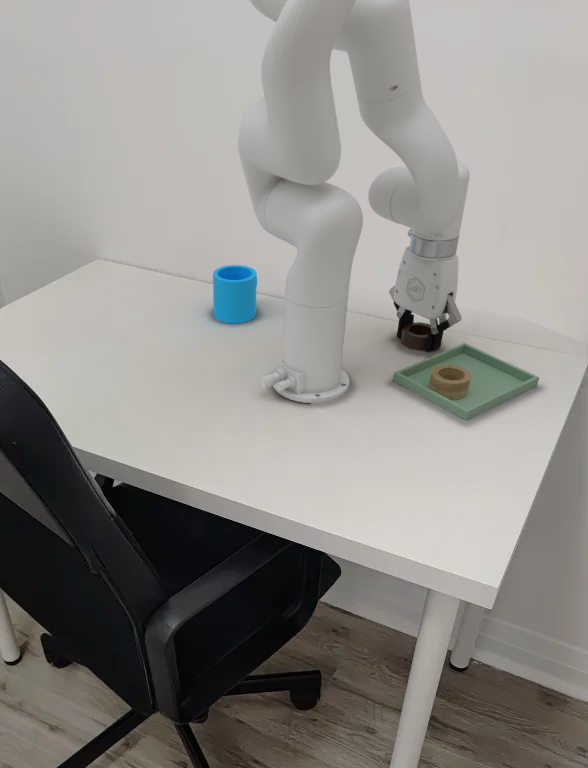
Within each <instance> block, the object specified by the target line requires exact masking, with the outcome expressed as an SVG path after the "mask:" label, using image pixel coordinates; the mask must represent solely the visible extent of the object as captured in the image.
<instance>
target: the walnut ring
mask: <svg viewBox="0 0 588 768" xmlns="http://www.w3.org/2000/svg"><path fill="white" fill-rule="evenodd" d="M429 332H431V325H430V323H427V322H422V321H421V322H419V321H417V322H413V323H409V324H406V325H404V327H403V329H402V335H401V339H400V343H401V345H402V346H403V347H405V348H407V349H410V350H414V351H425V348H426V342H427V336H428V333H429Z"/></svg>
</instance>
